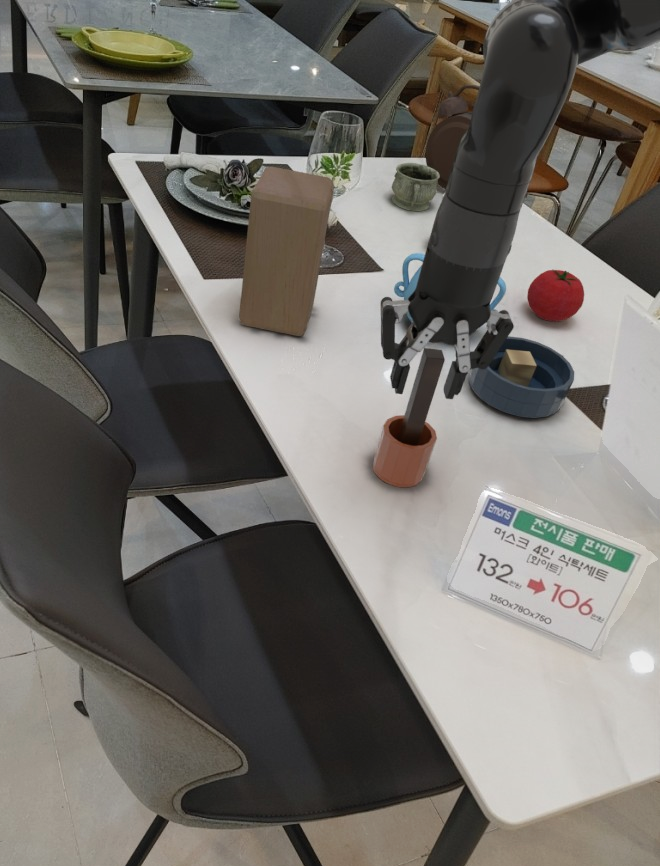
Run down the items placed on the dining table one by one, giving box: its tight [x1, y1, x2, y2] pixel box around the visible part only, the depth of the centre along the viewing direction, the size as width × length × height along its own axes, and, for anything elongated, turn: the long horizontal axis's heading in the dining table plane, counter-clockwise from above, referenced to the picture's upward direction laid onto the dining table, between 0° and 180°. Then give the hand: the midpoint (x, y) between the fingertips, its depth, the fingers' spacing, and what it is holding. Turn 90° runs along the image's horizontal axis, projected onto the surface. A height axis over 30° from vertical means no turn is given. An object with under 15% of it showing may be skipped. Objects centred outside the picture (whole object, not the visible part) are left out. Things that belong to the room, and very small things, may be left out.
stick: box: [397, 347, 446, 446], centre depth 87 cm, size 2×2×16 cm
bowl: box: [468, 335, 575, 419], centre depth 107 cm, size 13×13×5 cm
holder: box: [372, 414, 438, 488], centre depth 91 cm, size 6×6×6 cm
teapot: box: [393, 252, 507, 325], centre depth 116 cm, size 20×17×12 cm
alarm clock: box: [425, 84, 480, 190], centre depth 153 cm, size 15×7×20 cm, turn 50°
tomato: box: [526, 269, 585, 323], centre depth 123 cm, size 9×9×8 cm
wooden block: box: [238, 165, 335, 337], centre depth 108 cm, size 10×10×20 cm
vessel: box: [391, 162, 440, 212], centre depth 151 cm, size 12×9×6 cm
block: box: [498, 349, 537, 387], centre depth 109 cm, size 4×4×4 cm
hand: (422, 391), depth 85 cm, fingers open, 5 cm apart
